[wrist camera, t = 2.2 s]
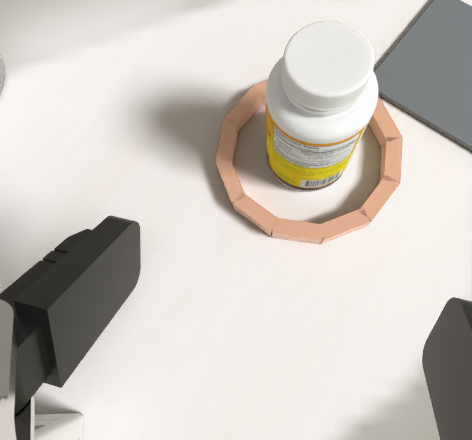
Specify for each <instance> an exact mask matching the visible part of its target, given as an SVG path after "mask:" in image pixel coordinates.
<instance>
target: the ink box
mask: <svg viewBox="0 0 472 440" xmlns="http://www.w3.org/2000/svg"><path fill="white" fill-rule="evenodd" d="M83 434H84V416H83V415H82V414H80V413H65V414H35V425H34V440H83Z"/></svg>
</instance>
